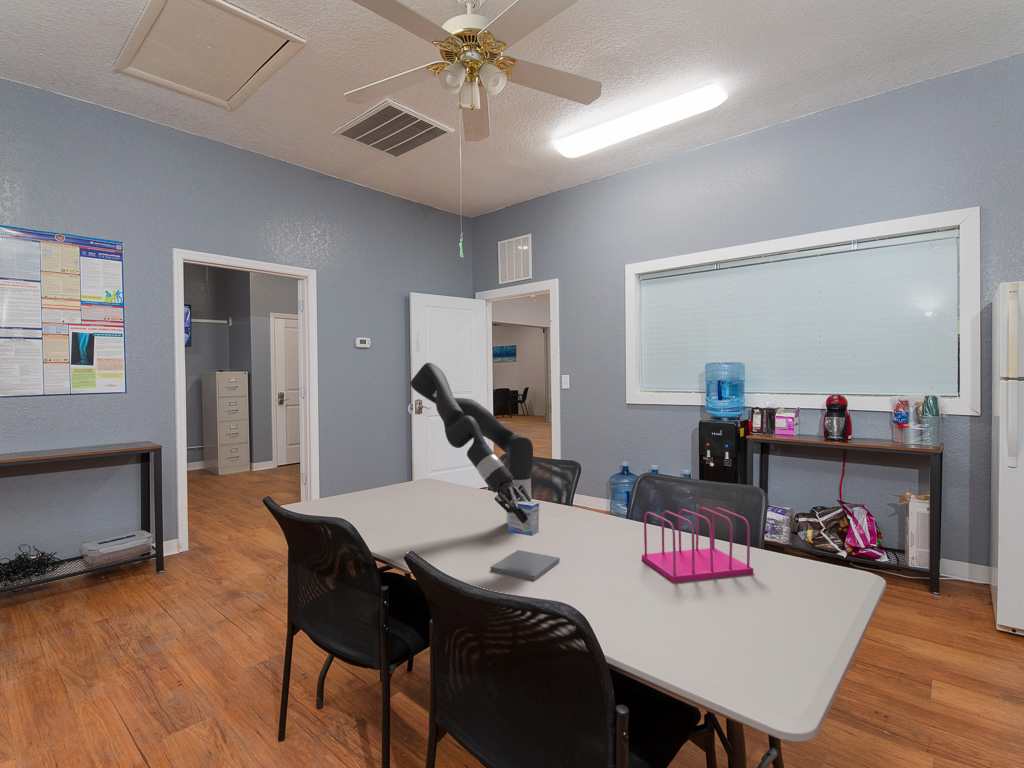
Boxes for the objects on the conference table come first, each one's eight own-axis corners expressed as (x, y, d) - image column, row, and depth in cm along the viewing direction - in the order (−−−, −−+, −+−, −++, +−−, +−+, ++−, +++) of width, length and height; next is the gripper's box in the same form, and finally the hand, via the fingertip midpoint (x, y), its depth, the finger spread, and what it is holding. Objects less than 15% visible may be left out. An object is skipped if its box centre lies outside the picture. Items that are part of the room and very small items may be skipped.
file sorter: (641, 560, 150) (640, 508, 150) (714, 553, 156) (714, 502, 156) (673, 583, 133) (672, 524, 133) (753, 574, 139) (753, 517, 139)
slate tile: (518, 553, 156) (518, 550, 156) (559, 561, 149) (559, 557, 149) (490, 570, 142) (490, 566, 142) (534, 580, 135) (534, 576, 135)
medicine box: (507, 532, 145) (508, 502, 145) (515, 528, 149) (515, 499, 149) (532, 536, 141) (532, 505, 141) (539, 532, 145) (539, 502, 145)
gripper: (499, 476, 158) (533, 520, 152) (473, 485, 145) (509, 533, 139) (514, 461, 155) (549, 505, 149) (488, 468, 143) (525, 517, 137)
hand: (529, 518), depth 144 cm, fingers closed on medicine box, 4 cm apart
